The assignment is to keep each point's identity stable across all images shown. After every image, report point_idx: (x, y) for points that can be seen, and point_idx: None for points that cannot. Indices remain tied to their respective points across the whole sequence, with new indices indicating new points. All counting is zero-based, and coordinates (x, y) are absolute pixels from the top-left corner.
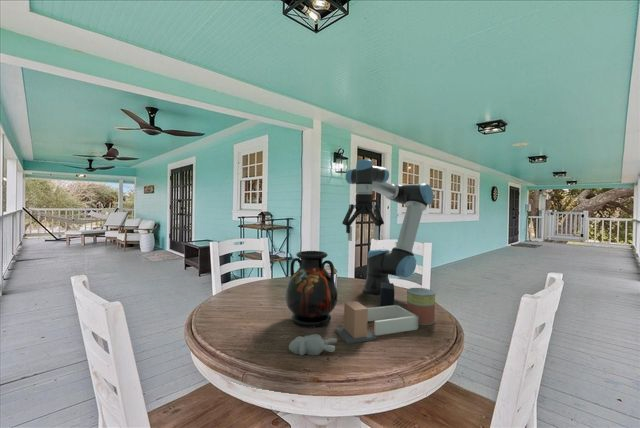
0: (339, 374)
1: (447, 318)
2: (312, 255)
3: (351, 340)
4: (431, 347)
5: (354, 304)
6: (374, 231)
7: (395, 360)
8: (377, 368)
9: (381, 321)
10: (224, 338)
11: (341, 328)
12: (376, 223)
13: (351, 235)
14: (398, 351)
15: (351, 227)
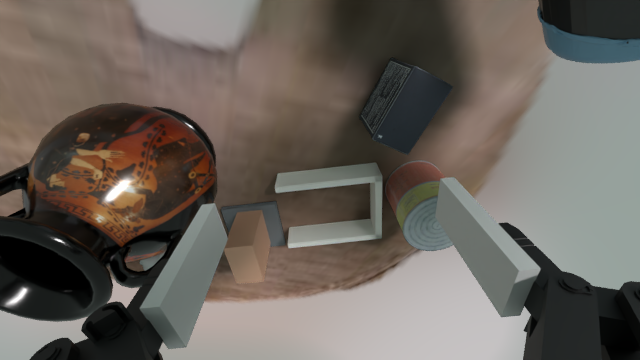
0: (214, 298)
1: (472, 189)
2: (48, 320)
3: None
4: (354, 269)
5: (243, 261)
6: (476, 225)
7: (289, 286)
8: (260, 295)
9: (300, 246)
10: (10, 202)
11: (232, 211)
12: (560, 307)
13: (213, 268)
14: (303, 272)
15: (185, 335)
